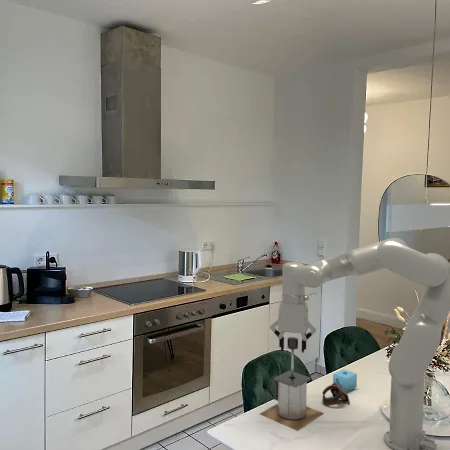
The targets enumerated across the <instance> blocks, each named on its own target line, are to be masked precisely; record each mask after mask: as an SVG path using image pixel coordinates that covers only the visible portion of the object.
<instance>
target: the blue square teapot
mask: <svg viewBox="0 0 450 450" xmlns="http://www.w3.org/2000/svg"><path fill="white" fill-rule="evenodd" d="M332 376H333V377H332V384H333V383H336V384H337V386H339V387H340V388H342V389H343V390H344V391H345V392H346V393H347V394H348V393H349V391H354V389H355V388H357V384H358V383H357V381H358V379H357V378H358V373H355V372H353V371H350V370H348V369H341V370H338V371H336V372H334V373H333V374H332Z"/></svg>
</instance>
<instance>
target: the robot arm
mask: <svg viewBox="0 0 450 450" xmlns="http://www.w3.org/2000/svg"><path fill="white" fill-rule="evenodd" d="M385 269H386V270H389V271H391V272H392V273H394V274H397V275H398V276H401V277H403V278H405V279H408V280H410V281H413V282H414V283H416V284H418V285H421V286H424V290H423V293H422V295H421V297H420V300H419V302H418V304H417V306H416V308H415V309H414V311H413V313H412V315H411V317H410V318H409V319H408V321H407V323H406V326H405V329H404V331H403V333H402V336H401V337H400V340H399V342H398V343H397V345H395V347H394V348H393V350H392V351H391V355H390V357H389V360H388V373H389V374H390V376H391V378H390V398H389V399H390V404H389V429H388V431H386V432H384V435H383V440H384V443H385V444H386V445H387V446H388V447H389V448H390V449H392V450H428V449H430V450H437V449H438V448H437V447H438V445H437V443H436V440H435V439H432V438H430V437H428V436H426V435H427V432H426V430H424V429H423V428H424V403H425V383H426V382H425V381H426V380H425V379H426V372H427V370H428V368H429V366H430V364H431V363H432V360H433V358H434V356H435V355H436V353H437V351H438V349H439V346H440V343H441V338H442V331H443V327H444V325H445V323H446V321H447V319H448V317H449V314H450V262H449V261H448V260H447V259H446V258H445V257H444V256H442V254H441V255H440V254H438V253H435V252H429V253H424V252H420V251H419V250H417V249H413V248H412V247H409V246H408V245H407V243H406V242H405V241H404V240H402V239H401V238H399V237H398V238H397V237H392V238H391V237H390V238H387V239H384V240H380V241H377V242H373V243H372V244H368V245H365V246H361V247H358V248H354V249H351V250H349V251H347V252H344V253H340V254H339V255H334V256H331V257H329V258H325V259H321V260H319V261H316V262H314V263H311V264H307V265H305V264H303V263H301V262H298V261H297V262H296V261H290V262H289V261H288V262H285V263H283V265H282V280H281V281H282V284H281V285H282V289H281V290H282V291H281V293H282V294H281V295H282V296H281V297H282V299H281V301H280V303H279V306H278V307H279V308H278V318H277V319H276V321H275V322H273V323H272V324H270V327H269V329H270V330H271V331H272V332H273V333H274V334H275V336H276V337H277V338H278V340H279V341H278V345H279V346H278V347H279V348H280V351H281V352H283V351H284V349H285V337H284V334H285V333H293V334H294V333H295V334H300V335H301V337H302V339H301V353H303V354H304V353H305V350H307V340H309V339H310V338H311V337H312V336H313V335H314V334H315V333H317V328H316V326H314V325H313V324H312V323H311V322H310V321H309V310H308V309H309V308H308V303H307V302H306V301H310V295H309V296H308V295H306V293H305V292H306V291H305V289H306V287H307V288H311V289H316V288H319V287H321V286H322V285H324V284H325V283H327V282H330V281H333V280H336V279H341V278H344V277H348V276H356V277H360V276H365V275H368V274H372V273H375V272H378V271H382V270H385ZM276 327H277V328H276ZM308 329H309V330H310V331H308Z"/></svg>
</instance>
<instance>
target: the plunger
mask: <svg viewBox="0 0 450 450" xmlns="http://www.w3.org/2000/svg"><path fill="white" fill-rule="evenodd" d="M286 341H287V345H286V347H287V349H289V350H291V352H290V353H291V358H290V359H291V360H290V361H291V362H290V365H291V366H290V371H291V379H293V377H294V372H295V371H294V369H295V367H294V365H295V362H294V361H295V360H294V359H295V358H294V357H295V350H297V349H299V338H297V337H293V336H291V337H288V338H287V340H286Z"/></svg>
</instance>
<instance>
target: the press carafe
mask: <svg viewBox="0 0 450 450" xmlns="http://www.w3.org/2000/svg"><path fill="white" fill-rule="evenodd" d="M309 381H311V377H309V376H306V375H304V374H301V373H298V372H295V371H294V377H293V379H291V370H287V371H285V372H284V373H281V374H279V375H276V376H274V377H273V400H274V401H277V404H278V415H279V416H280V417H281V418H283V419H285V420H290V421H298V420H302V419H304V418H305V417H306V407H307V392H308V391H307V382H309Z"/></svg>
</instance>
